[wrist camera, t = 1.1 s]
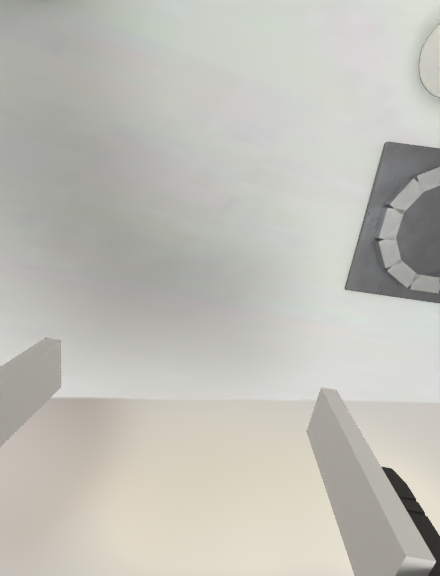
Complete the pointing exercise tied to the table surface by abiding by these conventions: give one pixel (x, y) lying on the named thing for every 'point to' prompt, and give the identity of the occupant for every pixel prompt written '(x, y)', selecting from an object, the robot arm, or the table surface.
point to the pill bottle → (431, 63)
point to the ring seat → (401, 227)
